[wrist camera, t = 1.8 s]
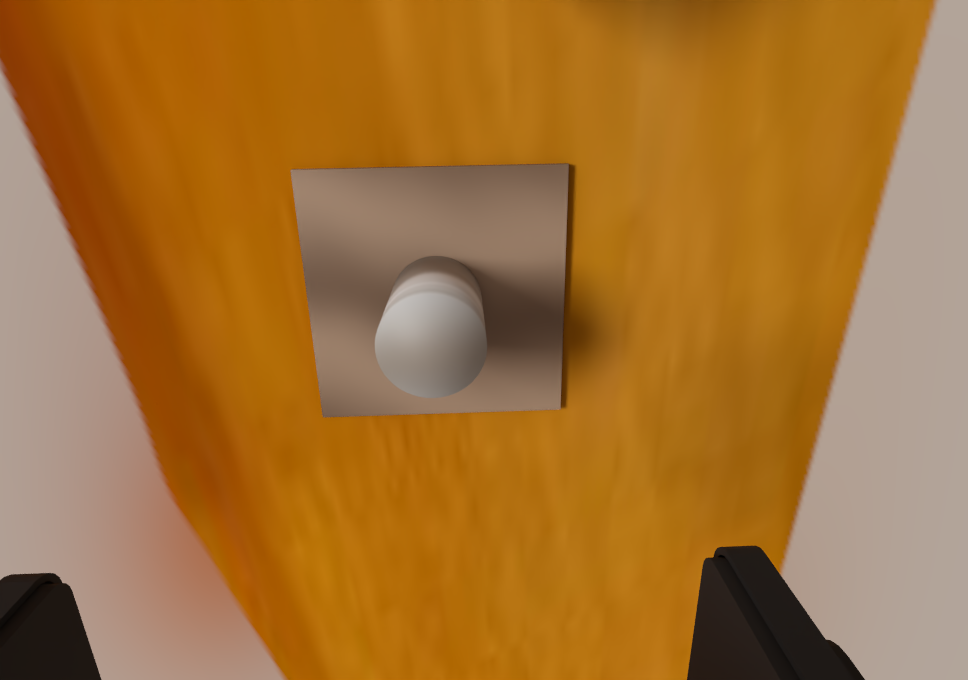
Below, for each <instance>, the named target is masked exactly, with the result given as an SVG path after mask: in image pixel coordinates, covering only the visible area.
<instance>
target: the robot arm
mask: <svg viewBox="0 0 968 680" xmlns="http://www.w3.org/2000/svg"><path fill="white" fill-rule="evenodd" d="M0 680H101V677H100V674H99V671H98V668H97V665H96V662H95V659H94V656H93V653H92V650H91V647H90V644H89V641H88V638H87V635H86V632H85V629H84V626H83V623H82V620H81V616H80V613H79V610H78V607H77V604H76V601H75V598H74V595H73V592H72V590H71V588H70V586H69V585H67V584H65V583H62V581H61V579H60V577H58V576H57V575H56V574H53V573H40V574H14V575H9V576H6V577H4V578H2V579H1V580H0ZM687 680H865V679H864V678H863V676H862V675H861V674H860V672H859V671H858V670H857V668H856V667H855V665H854V664H853V662H852V661H851V660H850V658H849V657H848V656H847V655H846V653H845V652H844V651H843V650H842V649H841V648H840V647H839V646H838V645H837V644H835V643H834V642H832V641H831V640H826V639H825V638H824V637H823V635H822V634H821V632H820V631H819V629H818V628H817V627H816V625H815V624H814V622H813V621H812V619H811V618H810V617H809V615H808V614H807V612H806V611H805V609H804V608H803V607H802V605H801V604H800V602H799V601H798V600H797V598H796V597H795V595H794V594H793V593H792V591H791V590H790V588H789V587H788V585H787V584H786V583H785V581H784V580H783V578H782V577H781V575H780V574H779V572H778V571H777V570H776V568H775V567H774V565H773V564H772V562H771V561H770V560H769V558H768V557H767V555H766V554H765V553H764V551H763V550H762V549H761V548H760V547H757V546H735V547H719V548H717V549H716V551H715V554H714V557H713V558H706V559H705V560H704V563H703V569H702V576H701V583H700V590H699V598H698V605H697V612H696V619H695V626H694V634H693V641H692V648H691V655H690V662H689V670H688V677H687Z"/></svg>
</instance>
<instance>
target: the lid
mask: <svg viewBox="0 0 968 680" xmlns="http://www.w3.org/2000/svg"><path fill="white" fill-rule="evenodd" d="M568 173H569V164H567V163H566V164H518V165H470V166H422V167H374V168H326V169H292V170H291V177H292V185H293V192H294V200H295V208H296V215H297V223H298V231H299V238H300V246H301V254H302V261H303V269H304V276H305V284H306V292H307V299H308V307H309V315H310V322H311V330H312V337H313V345H314V353H315V360H316V368H317V376H318V383H319V391H320V398H321V406H322V414H323V417H344V416H375V415H405V414H435V413H465V412H495V411H526V410H556V409H561V379H562V350H563V320H564V291H565V261H566V232H567V202H568Z"/></svg>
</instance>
